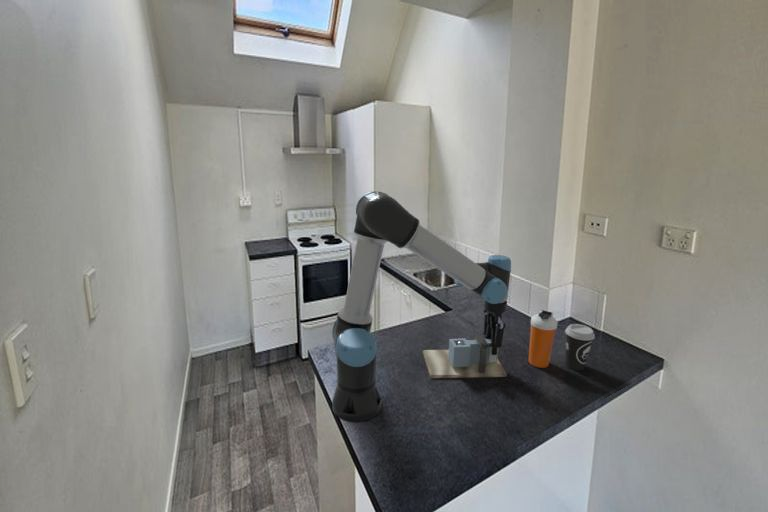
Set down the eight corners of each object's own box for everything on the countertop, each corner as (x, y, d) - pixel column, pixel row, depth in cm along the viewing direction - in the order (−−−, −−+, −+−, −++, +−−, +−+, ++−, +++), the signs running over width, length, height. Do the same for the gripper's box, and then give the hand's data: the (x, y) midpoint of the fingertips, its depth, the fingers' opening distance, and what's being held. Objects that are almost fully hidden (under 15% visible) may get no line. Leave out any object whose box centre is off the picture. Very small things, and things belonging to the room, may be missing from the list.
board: (430, 378, 129) (430, 375, 129) (423, 352, 145) (423, 350, 145) (506, 376, 130) (506, 373, 130) (490, 351, 147) (491, 349, 146)
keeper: (477, 376, 131) (480, 346, 127) (472, 364, 137) (474, 336, 134) (486, 376, 131) (489, 345, 127) (480, 364, 138) (482, 336, 134)
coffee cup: (582, 359, 142) (588, 323, 138) (593, 373, 133) (600, 335, 129) (556, 358, 143) (562, 322, 139) (565, 372, 134) (571, 334, 130)
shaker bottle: (524, 365, 138) (530, 315, 132) (527, 354, 145) (533, 306, 140) (550, 371, 134) (557, 320, 128) (552, 360, 141) (559, 311, 136)
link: (452, 367, 132) (454, 347, 130) (448, 358, 138) (449, 339, 135) (498, 364, 134) (500, 344, 132) (491, 356, 140) (493, 336, 138)
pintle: (456, 369, 134) (458, 343, 132) (455, 366, 136) (457, 340, 134) (462, 369, 135) (464, 343, 132) (460, 366, 136) (462, 340, 134)
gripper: (477, 291, 137) (472, 348, 144) (495, 308, 122) (488, 371, 128) (496, 290, 138) (491, 347, 144) (516, 307, 123) (509, 370, 129)
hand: (490, 358), depth 136 cm, fingers closed on link, 3 cm apart
